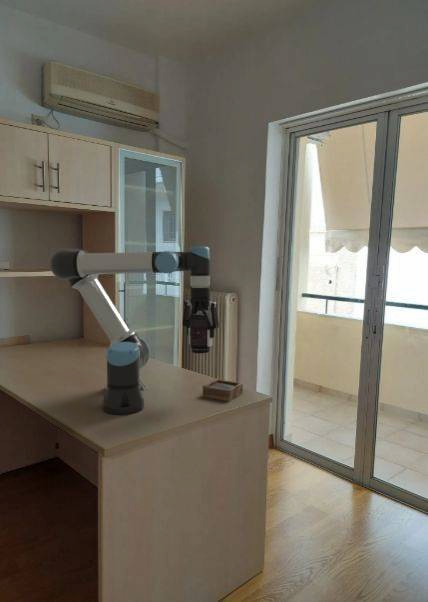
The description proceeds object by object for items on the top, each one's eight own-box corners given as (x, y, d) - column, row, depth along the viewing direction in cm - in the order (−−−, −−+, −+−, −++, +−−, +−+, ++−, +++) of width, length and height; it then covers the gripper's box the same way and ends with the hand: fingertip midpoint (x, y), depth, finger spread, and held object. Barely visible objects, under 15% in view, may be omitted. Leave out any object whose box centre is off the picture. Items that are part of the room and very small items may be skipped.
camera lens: (208, 354, 169) (208, 315, 167) (187, 353, 171) (187, 314, 169) (213, 350, 177) (212, 312, 175) (193, 349, 178) (193, 312, 177)
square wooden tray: (229, 401, 173) (229, 391, 173) (202, 396, 179) (202, 386, 178) (242, 393, 184) (242, 383, 183) (216, 388, 189) (217, 379, 189)
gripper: (228, 286, 169) (228, 345, 172) (183, 285, 179) (183, 340, 182) (218, 288, 163) (219, 349, 165) (172, 286, 173) (173, 344, 175)
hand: (200, 344), depth 173 cm, fingers closed on camera lens, 8 cm apart
